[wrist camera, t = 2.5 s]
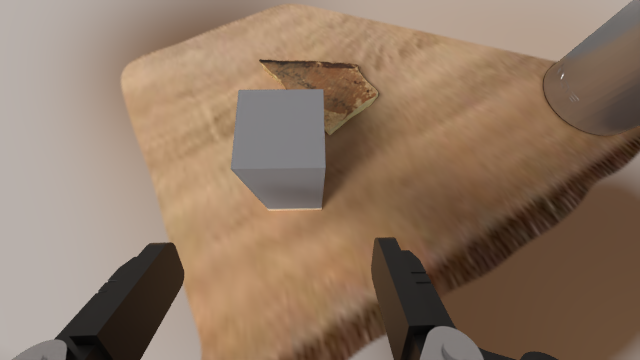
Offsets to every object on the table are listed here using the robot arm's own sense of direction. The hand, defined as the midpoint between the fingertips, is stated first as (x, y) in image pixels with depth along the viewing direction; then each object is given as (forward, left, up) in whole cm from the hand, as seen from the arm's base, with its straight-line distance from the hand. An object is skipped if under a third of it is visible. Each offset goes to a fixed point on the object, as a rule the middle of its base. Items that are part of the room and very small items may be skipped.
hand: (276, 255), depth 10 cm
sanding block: (0, -6, -10) cm, 12 cm away
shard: (-2, -15, -11) cm, 19 cm away
